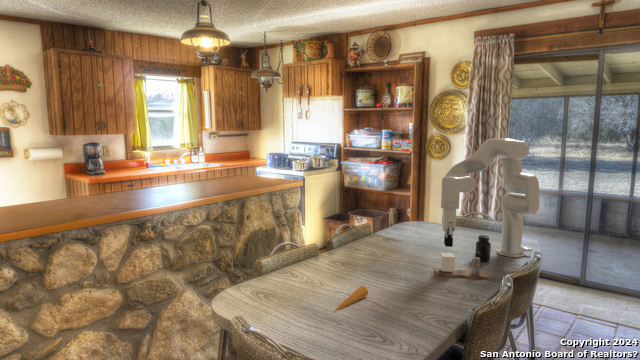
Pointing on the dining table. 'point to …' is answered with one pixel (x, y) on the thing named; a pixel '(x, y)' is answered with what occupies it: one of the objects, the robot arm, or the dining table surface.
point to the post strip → (465, 271)
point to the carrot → (354, 297)
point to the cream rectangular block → (447, 262)
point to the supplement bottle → (483, 248)
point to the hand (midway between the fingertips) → (448, 245)
